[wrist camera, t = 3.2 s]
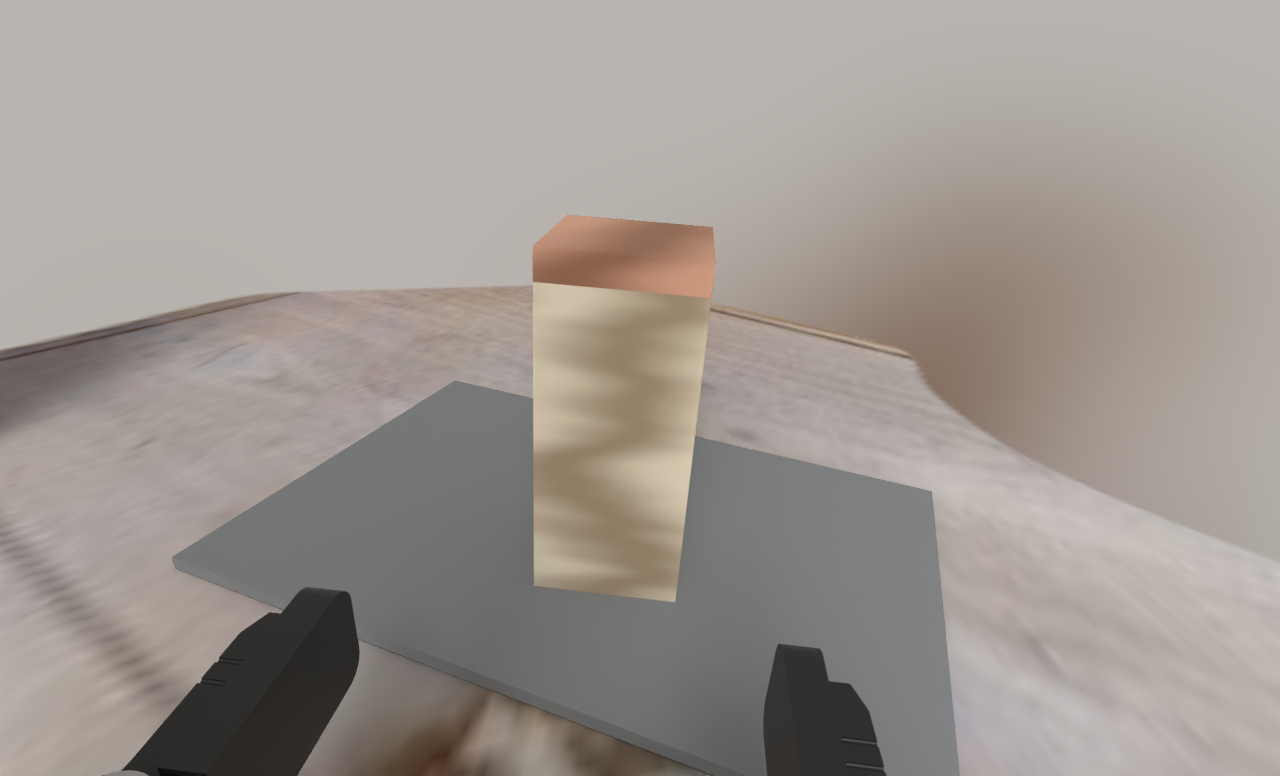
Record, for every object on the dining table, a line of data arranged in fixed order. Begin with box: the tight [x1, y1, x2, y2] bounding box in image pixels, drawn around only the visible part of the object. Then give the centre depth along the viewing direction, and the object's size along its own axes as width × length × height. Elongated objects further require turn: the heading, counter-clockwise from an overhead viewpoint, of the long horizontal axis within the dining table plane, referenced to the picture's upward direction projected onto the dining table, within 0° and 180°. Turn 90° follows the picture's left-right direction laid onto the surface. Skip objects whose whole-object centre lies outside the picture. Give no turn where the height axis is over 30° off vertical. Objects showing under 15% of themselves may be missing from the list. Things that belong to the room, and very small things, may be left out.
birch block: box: [533, 215, 716, 602], centre depth 22 cm, size 5×5×12 cm
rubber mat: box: [172, 381, 960, 776], centre depth 26 cm, size 26×17×1 cm, turn 70°
